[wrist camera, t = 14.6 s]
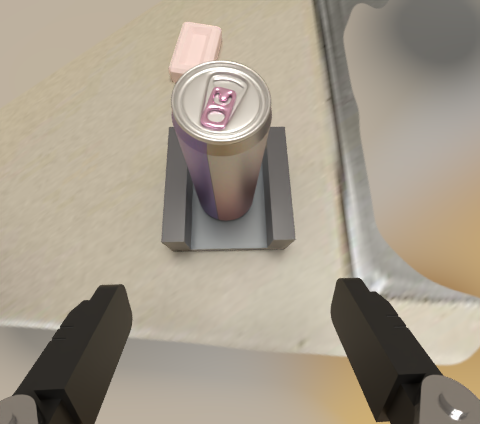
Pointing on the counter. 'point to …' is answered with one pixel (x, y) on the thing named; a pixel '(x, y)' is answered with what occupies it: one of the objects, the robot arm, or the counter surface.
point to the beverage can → (222, 133)
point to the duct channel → (238, 230)
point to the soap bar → (194, 48)
